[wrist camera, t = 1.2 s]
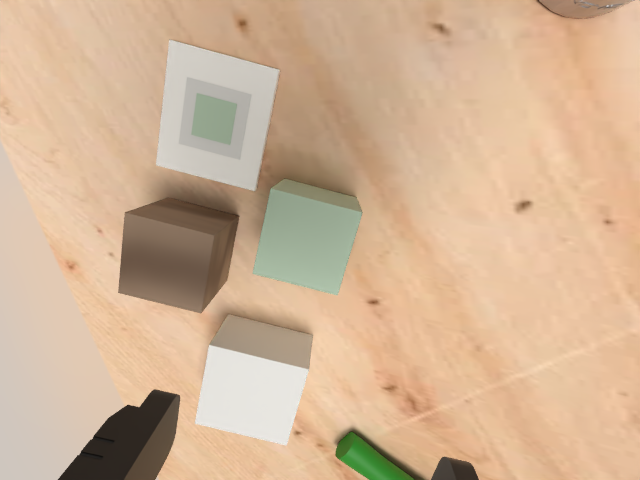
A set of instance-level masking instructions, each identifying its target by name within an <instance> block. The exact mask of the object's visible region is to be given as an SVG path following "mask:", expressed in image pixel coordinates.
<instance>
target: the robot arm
mask: <svg viewBox="0 0 640 480" xmlns="http://www.w3.org/2000/svg"><path fill="white" fill-rule="evenodd" d="M539 1H540V2H541V3H542V4H543V5H545V6H546V7H547V8H548V9H549V10H551V11H553V12H555V13H557V14H560V15H562V16H564V17H571V18H577V19H579V18H591V17H596V16H599V15H602V14H605V13H609V12H611V11H613V10H615V9H617V8H619V7H621V6H623V5H625V4H628V3H630V2H632V1H634V0H539ZM179 404H180V395H177V394H173V393H169V392H164V391H160V390H153V391H152V392H151V393H150V394H149V395H148V397H147V398H146V399H145V401H144V402H143V403H142V405H141V406H140V407H135V406H131V405H127V406H125V407H124V408H122V409H121V410H119V411H118V412H117V413H115V414H114V415H112V416H111V417H109V418H108V419H107V421H106V422H105V423H104V424H103V425H102V427H101V428H100V429H99V430H98V432H97V433H96V434H95V435H94V437H93V439H92V440H90V441H89V442H88V444H87V445H86V446H85V447H84V448H83V450H82V451H81V453H80V455H78V456H77V457H76V458H75V459H74V461H73V462H72V463H71V464H70V465H69V467H68V468H67V469H66V470H65V472H64V473H63V474H62V475H61V476H60V478H59V479H58V480H155V479H156V477H157V475H158V473H159V471H160V470H161V468H162V466H163V464H164V462H165V460H166V458H167V456H168V454H169V452H170V450H171V447H172V444H173V441H174V438H175V434H176V427H177V420H178V412H179ZM431 480H479V479H478V476H477V474H476V472H475V469H474V467H473V466H472V464H471V463H469V462H466V461H462V460H457V459H453V458H448V457H442V458H441V460H440V461H439V464H438V466H437V468H436V470H435V472H434V474H433V476H432V479H431Z"/></svg>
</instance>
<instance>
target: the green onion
mask: <svg viewBox="0 0 640 480" xmlns="http://www.w3.org/2000/svg"><path fill="white" fill-rule="evenodd" d="M336 457H337V458H338V459H339V460H341V461H342V462H344V463H345V464H346V465H348V466H349V467H351V468H352V469H354V470H355V471H357V472H358V473H360V474H361V475H363V476H365V477H366V478H367V479H369V480H415V479H413V478H412V477H411V476H409V475H408V474H407V473H405V472H404V471H403V470H401V469H400V468H398V467H397V466H396V465H394V464H393V463H391V462H390V461H389V460H387V459H386V458H385V457H383V456H382V455H381V454H379V453H378V452H377V451H376V450H375V449H373V448H372V447H371V446H370V445H369V444H367V443H366V442H365V441H364V440H362V439H361V438H360V437H358V436H357V435H356V434H354V433H353V432H349V433H348V434H347V435H346V436H345V437H344V438H343V439H342V440H341V441H340V442H339V444H338V446H337V449H336Z"/></svg>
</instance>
